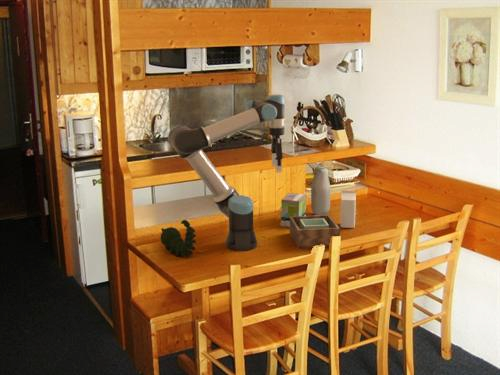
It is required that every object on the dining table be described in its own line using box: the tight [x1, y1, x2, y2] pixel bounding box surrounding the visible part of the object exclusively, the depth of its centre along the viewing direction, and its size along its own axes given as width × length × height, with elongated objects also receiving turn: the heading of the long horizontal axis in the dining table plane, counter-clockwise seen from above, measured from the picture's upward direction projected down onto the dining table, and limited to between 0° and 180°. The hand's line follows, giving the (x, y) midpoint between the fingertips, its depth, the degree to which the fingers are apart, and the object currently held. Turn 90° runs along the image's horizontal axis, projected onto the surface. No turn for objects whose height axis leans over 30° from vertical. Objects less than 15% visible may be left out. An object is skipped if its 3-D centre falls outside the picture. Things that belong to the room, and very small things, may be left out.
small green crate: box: [300, 218, 329, 229], centre depth 322 cm, size 12×11×8 cm
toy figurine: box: [160, 219, 197, 258], centre depth 306 cm, size 9×19×25 cm
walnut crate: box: [289, 214, 341, 249], centre depth 322 cm, size 20×22×9 cm
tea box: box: [280, 192, 307, 228], centre depth 348 cm, size 15×10×15 cm, turn 161°
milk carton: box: [339, 190, 357, 229], centre depth 342 cm, size 7×7×19 cm
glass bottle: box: [310, 165, 332, 215], centre depth 359 cm, size 10×10×28 cm
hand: (276, 169), depth 328 cm, fingers open, 13 cm apart
